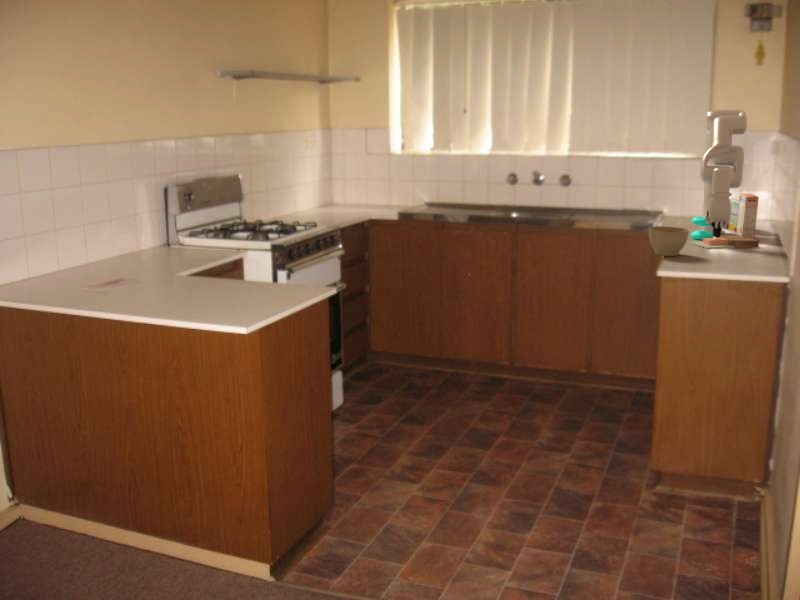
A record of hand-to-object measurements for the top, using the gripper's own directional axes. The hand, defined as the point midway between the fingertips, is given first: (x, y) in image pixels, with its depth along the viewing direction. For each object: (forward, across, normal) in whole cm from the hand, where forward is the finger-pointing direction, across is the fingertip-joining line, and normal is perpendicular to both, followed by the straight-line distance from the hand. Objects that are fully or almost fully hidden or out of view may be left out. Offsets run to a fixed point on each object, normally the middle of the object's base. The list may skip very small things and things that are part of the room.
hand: (716, 236), depth 376 cm
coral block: (+2, 0, 0) cm, 2 cm away
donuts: (+4, -4, -19) cm, 20 cm away
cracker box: (+4, -22, -14) cm, 27 cm away
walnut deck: (+4, -10, 0) cm, 11 cm away
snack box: (+4, -34, -42) cm, 54 cm away
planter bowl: (+4, +32, +19) cm, 38 cm away
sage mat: (+4, +2, 0) cm, 4 cm away
